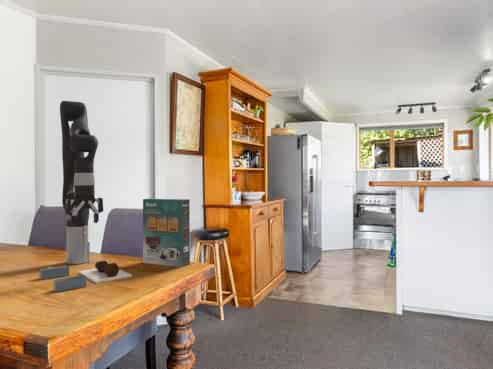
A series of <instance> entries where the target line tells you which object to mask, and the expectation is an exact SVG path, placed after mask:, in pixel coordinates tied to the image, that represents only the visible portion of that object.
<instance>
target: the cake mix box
mask: <svg viewBox="0 0 493 369" xmlns="http://www.w3.org/2000/svg"><path fill="white" fill-rule="evenodd" d="M190 202H191V201H190V198H189V199H188V198H143V199H142V255H143V256H142V261H143V262H142V263H143V264H151V265H158V266H160V265H161V266H169V267H177V268H183V267H186V266H188V265H190V264H191V262H190V260H191V259H190V257H191V256H190V250H191V249H190V243H191V242H190V238H191V237H190V236H191V235H190V234H191V233H190V227H191V226H190V220H191V219H190V216H191V215H190V210H191V208H190Z"/></svg>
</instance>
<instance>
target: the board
mask: <svg viewBox="0 0 493 369" xmlns="http://www.w3.org/2000/svg"><path fill="white" fill-rule="evenodd" d="M78 274H79V275H80V276H83V275H84V276H86V279H88V280H89V281H91V282H92V283H94V284H100V283H104V282H111V281H116V280H122V279H127V278H128V279H129V278H132V277H133V276H132V274H131V273H129V272H126V271H125V270H122V269H120V268H119V272H118V274H117V275H116V276H114V277H107V275H106V274H105V272H101V273H100V272H99V271H98V270H97V268H91V269H85V270H79V271H78Z"/></svg>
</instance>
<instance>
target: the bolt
mask: <svg viewBox="0 0 493 369" xmlns="http://www.w3.org/2000/svg"><path fill="white" fill-rule="evenodd" d="M94 267H95V269H97V270H98V271H99V272H100V273H101V272H105V274H106V275H107V277H114V276H116V275H117V274H118V272H119V269H120V267H119V266H118V264H117V262H112V263H108V261H107V260H101V261H97V262H96V263H95V265H94Z"/></svg>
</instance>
